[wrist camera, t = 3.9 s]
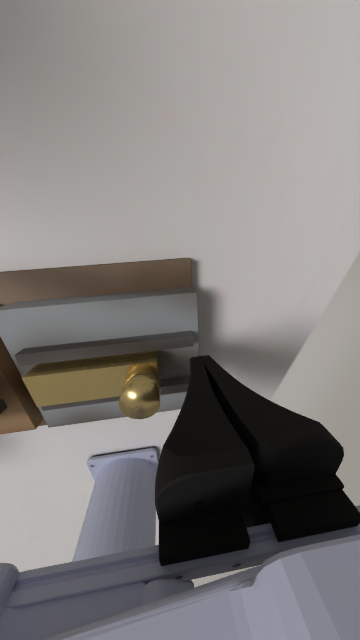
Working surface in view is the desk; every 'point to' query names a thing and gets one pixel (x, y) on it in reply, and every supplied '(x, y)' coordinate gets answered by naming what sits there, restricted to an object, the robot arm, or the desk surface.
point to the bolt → (100, 382)
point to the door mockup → (94, 331)
